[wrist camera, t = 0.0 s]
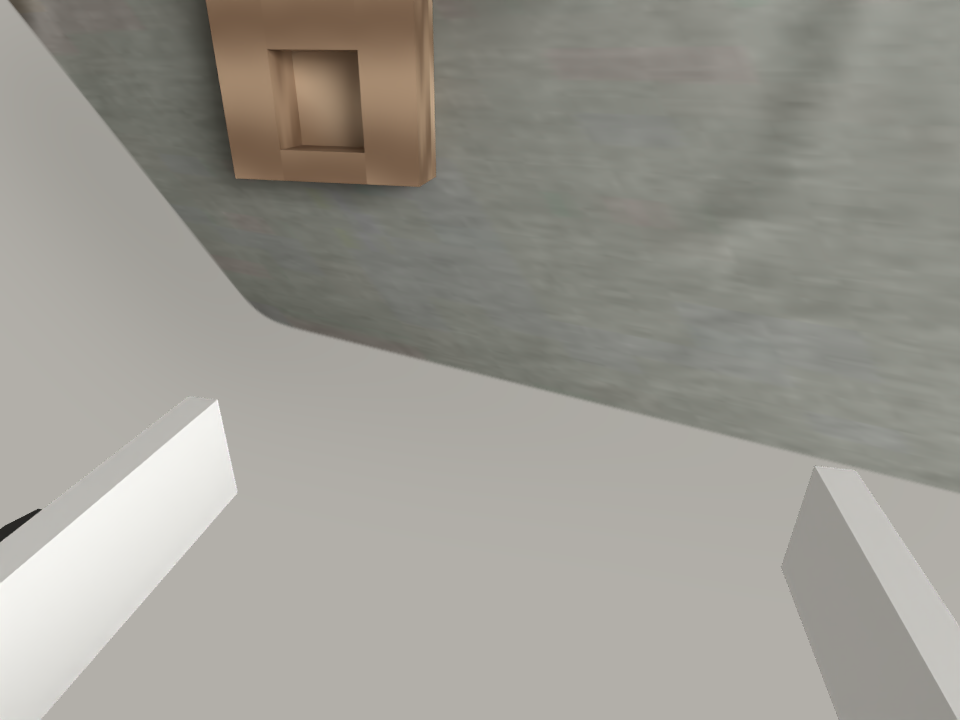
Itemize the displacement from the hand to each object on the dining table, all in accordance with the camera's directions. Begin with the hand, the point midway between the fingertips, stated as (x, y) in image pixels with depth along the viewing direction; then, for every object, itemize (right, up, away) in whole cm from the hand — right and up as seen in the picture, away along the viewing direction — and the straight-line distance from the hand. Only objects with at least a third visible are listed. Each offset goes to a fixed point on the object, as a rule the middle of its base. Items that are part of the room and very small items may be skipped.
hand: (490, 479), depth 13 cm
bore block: (-9, +23, +22) cm, 33 cm away
